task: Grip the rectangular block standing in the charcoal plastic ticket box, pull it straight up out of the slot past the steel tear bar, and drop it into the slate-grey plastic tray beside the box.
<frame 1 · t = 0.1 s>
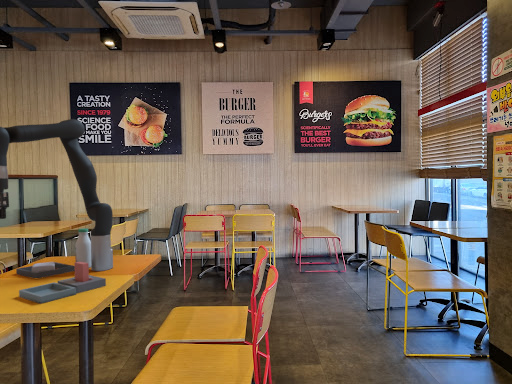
rectangular block: (81, 287, 147), resting in ticket box
ticket box: (81, 287, 147), on the table
milk bottle: (84, 267, 185), on the table
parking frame: (45, 272, 175), on the table
tray: (48, 295, 136), on the table
charger: (44, 273, 175), resting in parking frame
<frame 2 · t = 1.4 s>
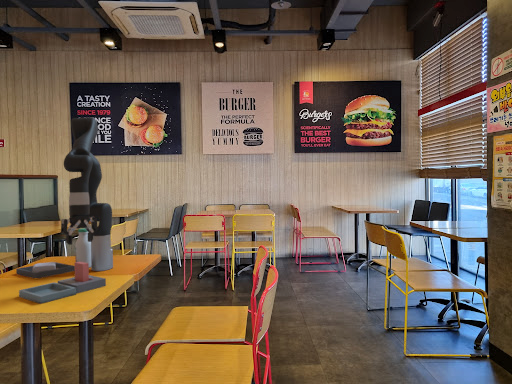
hand: (80, 243, 147), 18 cm above the table, tool pointing down, fingers open, 8 cm apart
nothing on the table moved.
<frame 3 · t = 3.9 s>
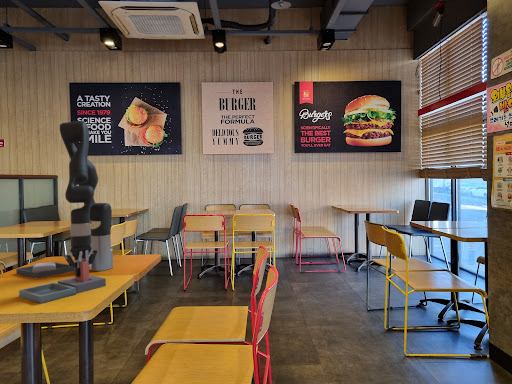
hand: (81, 276, 147), 5 cm above the table, tool pointing down, fingers closed on rectangular block, 2 cm apart
rectangular block: (82, 285, 147), point 1 cm above the table, touching gripper
everything else where it was.
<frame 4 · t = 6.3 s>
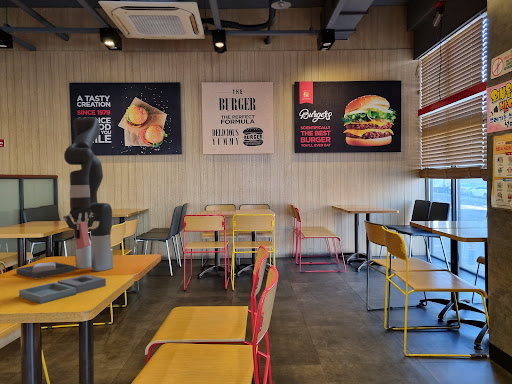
hand: (81, 238, 147), 20 cm above the table, tool pointing down, fingers closed on rectangular block
rectangular block: (83, 247, 146), point 16 cm above the table, tilted 16°, touching gripper
charger: (44, 273, 175), resting in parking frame
everything else where it was.
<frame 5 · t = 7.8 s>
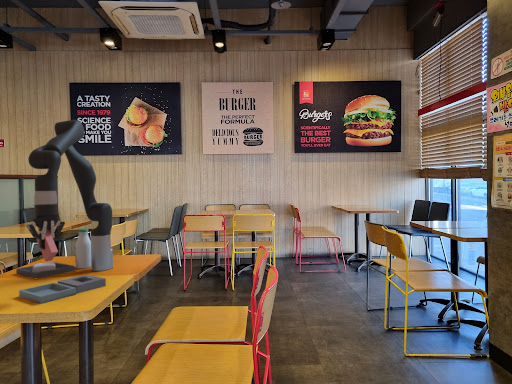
hand: (46, 248, 136), 18 cm above the table, tool pointing down, fingers closed on rectangular block
rectangular block: (51, 256, 134), point 15 cm above the table, tilted 38°, touching gripper
charger: (44, 273, 175), resting in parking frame
everything else where it was.
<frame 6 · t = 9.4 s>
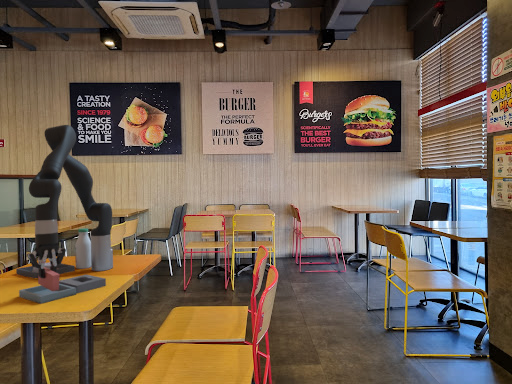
hand: (47, 276, 136), 7 cm above the table, tool pointing down, fingers open, 3 cm apart
rectangular block: (55, 282, 133), point 6 cm above the table, tilted 81°
everything else where it was.
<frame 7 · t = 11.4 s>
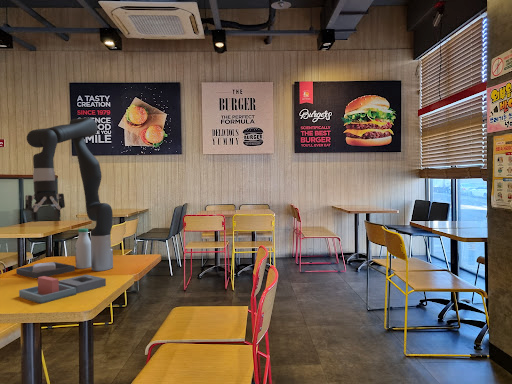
hand: (46, 220, 144), 28 cm above the table, tool pointing down, fingers open, 8 cm apart
rectangular block: (55, 287, 134), point 4 cm above the table, tilted 90°, touching tray
everything else where it was.
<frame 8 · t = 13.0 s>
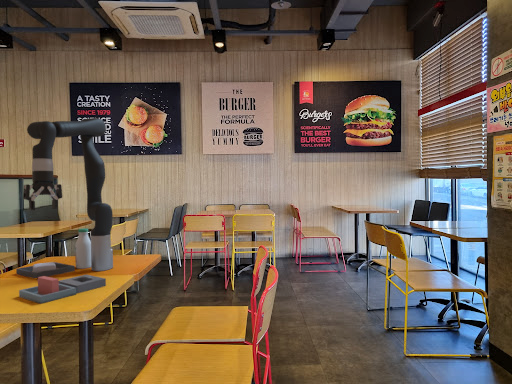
hand: (43, 209, 147), 32 cm above the table, tool pointing down, fingers open, 8 cm apart
nothing on the table moved.
at the end: rectangular block inside the target area on the tray (5.0 cm from its centre), point 3.6 cm above the tray's base; rectangular block moved 14.7 cm from its start; the gripper is holding nothing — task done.
